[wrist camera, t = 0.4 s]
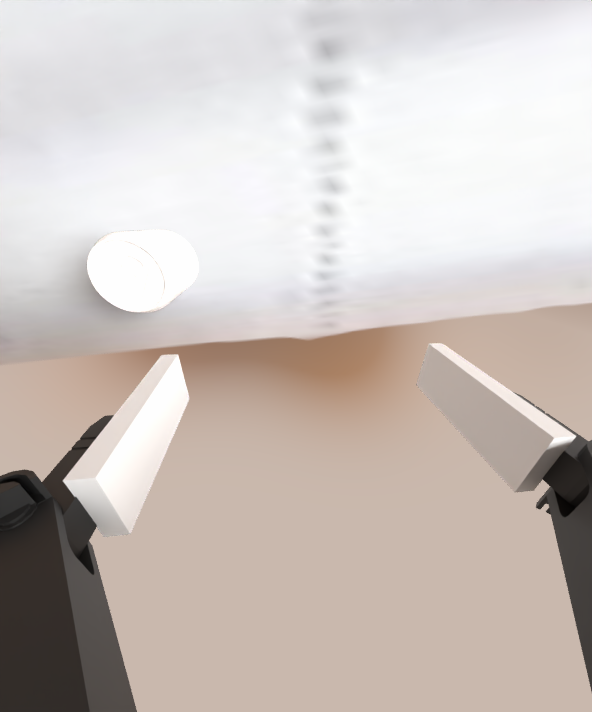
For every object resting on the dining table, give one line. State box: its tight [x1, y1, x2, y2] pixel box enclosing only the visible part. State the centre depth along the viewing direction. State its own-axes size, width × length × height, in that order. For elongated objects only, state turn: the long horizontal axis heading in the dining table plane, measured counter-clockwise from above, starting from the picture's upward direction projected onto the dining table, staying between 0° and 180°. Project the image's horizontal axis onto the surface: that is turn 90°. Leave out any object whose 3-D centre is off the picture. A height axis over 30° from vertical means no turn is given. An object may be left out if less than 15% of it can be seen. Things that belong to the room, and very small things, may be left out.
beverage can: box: [87, 230, 199, 313], centre depth 29 cm, size 8×8×12 cm
